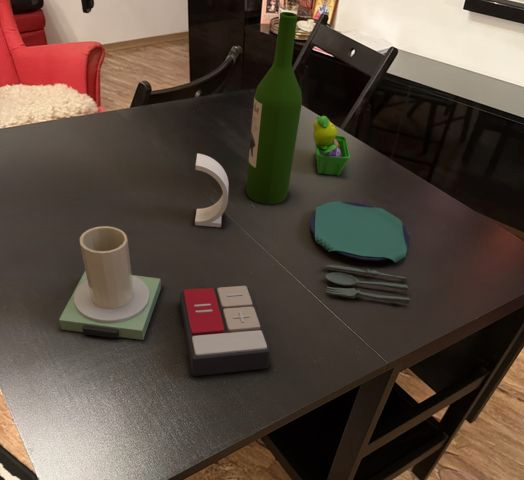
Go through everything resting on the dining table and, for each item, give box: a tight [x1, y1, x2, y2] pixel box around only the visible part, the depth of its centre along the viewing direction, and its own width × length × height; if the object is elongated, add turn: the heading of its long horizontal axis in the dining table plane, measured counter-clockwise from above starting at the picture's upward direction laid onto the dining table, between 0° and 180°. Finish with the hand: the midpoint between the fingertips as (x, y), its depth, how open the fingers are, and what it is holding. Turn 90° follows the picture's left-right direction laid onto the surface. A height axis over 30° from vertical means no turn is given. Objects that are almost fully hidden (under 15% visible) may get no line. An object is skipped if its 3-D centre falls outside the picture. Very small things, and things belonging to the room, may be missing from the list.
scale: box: [58, 270, 162, 341], centre depth 73 cm, size 12×13×3 cm
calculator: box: [179, 285, 271, 377], centre depth 71 cm, size 11×4×15 cm
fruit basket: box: [312, 115, 351, 176], centre depth 111 cm, size 11×9×11 cm
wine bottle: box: [245, 11, 303, 205], centre depth 91 cm, size 9×9×32 cm
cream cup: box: [79, 225, 134, 309], centre depth 69 cm, size 6×6×10 cm
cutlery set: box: [309, 200, 411, 305], centre depth 91 cm, size 20×30×2 cm, turn 174°
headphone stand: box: [194, 152, 230, 228], centre depth 89 cm, size 5×6×12 cm
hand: (60, 7), depth 76 cm, fingers open, 8 cm apart
